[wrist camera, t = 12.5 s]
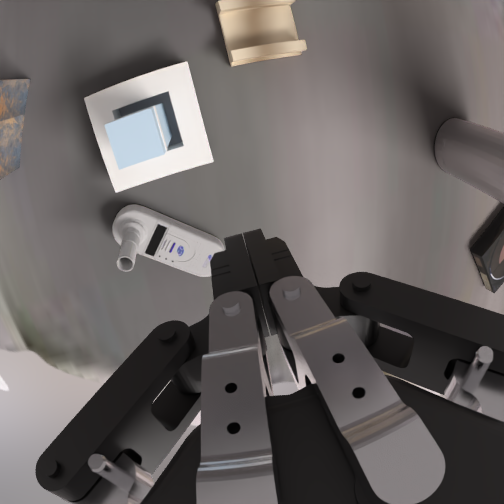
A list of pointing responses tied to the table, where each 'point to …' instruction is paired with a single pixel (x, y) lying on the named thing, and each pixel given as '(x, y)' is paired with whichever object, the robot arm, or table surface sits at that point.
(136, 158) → the plug
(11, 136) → the marbled rust block
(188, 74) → the socket
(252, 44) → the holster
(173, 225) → the electronic device
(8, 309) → the table surface
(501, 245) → the portable cd player
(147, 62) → the table surface
